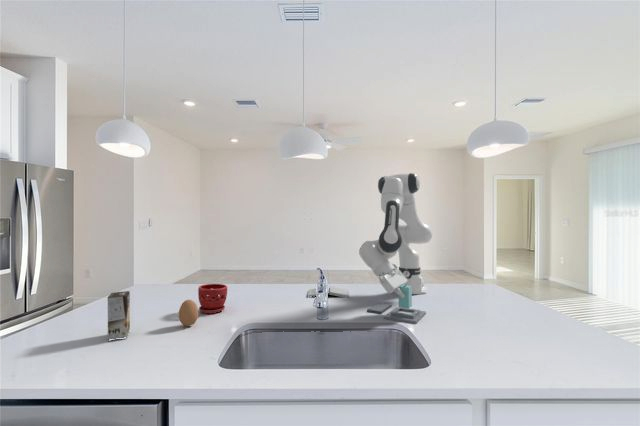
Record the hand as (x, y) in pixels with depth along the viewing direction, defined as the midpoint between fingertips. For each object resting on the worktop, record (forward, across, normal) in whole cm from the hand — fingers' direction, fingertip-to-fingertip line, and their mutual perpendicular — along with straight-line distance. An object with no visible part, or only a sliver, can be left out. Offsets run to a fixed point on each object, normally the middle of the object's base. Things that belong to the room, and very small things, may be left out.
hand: (406, 295), depth 153 cm
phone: (-4, +5, +17) cm, 18 cm away
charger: (+3, 0, +4) cm, 5 cm away
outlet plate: (+6, 0, +7) cm, 9 cm away
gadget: (-29, +19, +43) cm, 55 cm away
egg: (-45, -57, +59) cm, 93 cm away
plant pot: (-51, -37, +65) cm, 90 cm away
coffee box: (-54, -78, +68) cm, 117 cm away
